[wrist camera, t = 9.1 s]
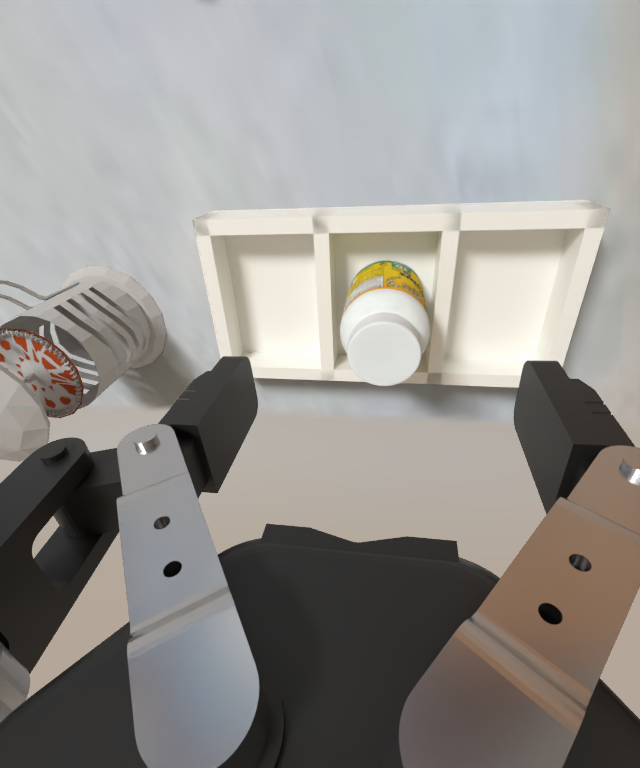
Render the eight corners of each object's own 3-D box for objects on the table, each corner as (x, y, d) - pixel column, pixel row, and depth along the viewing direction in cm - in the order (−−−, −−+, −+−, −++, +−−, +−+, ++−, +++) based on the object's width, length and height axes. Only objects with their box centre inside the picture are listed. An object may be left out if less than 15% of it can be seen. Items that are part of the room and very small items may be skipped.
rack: (585, 199, 26) (610, 209, 23) (540, 365, 32) (555, 388, 29) (212, 210, 30) (192, 219, 27) (238, 356, 36) (224, 376, 33)
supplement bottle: (336, 280, 30) (315, 335, 22) (403, 242, 28) (407, 289, 20) (370, 339, 32) (363, 409, 24) (435, 308, 30) (450, 374, 22)
